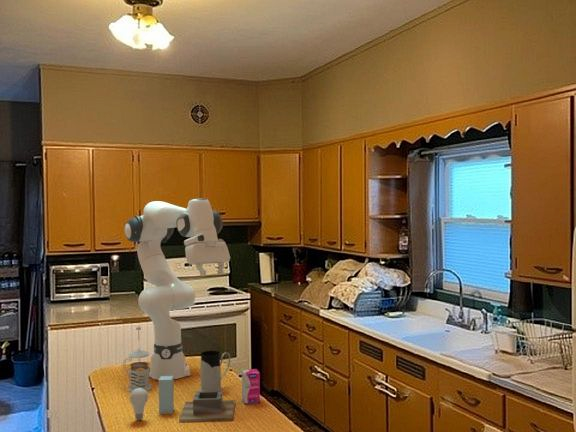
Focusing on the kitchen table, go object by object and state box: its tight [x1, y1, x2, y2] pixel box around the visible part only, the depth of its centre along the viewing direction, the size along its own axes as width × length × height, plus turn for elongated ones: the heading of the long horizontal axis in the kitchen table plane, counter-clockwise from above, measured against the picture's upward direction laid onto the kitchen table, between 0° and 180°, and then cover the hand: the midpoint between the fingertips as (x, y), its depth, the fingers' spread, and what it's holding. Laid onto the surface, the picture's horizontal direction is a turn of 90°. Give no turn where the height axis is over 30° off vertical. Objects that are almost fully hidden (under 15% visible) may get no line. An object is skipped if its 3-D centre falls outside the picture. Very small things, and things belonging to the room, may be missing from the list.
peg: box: [158, 376, 175, 415], centre depth 208 cm, size 4×4×12 cm
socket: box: [178, 390, 236, 423], centre depth 207 cm, size 18×18×6 cm
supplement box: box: [241, 368, 261, 405], centre depth 217 cm, size 6×6×12 cm
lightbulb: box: [129, 388, 149, 421], centre depth 199 cm, size 6×6×11 cm
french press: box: [122, 325, 153, 393], centre depth 235 cm, size 10×12×25 cm
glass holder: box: [199, 350, 231, 392], centre depth 233 cm, size 9×14×15 cm, turn 135°
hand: (212, 275), depth 218 cm, fingers open, 8 cm apart
